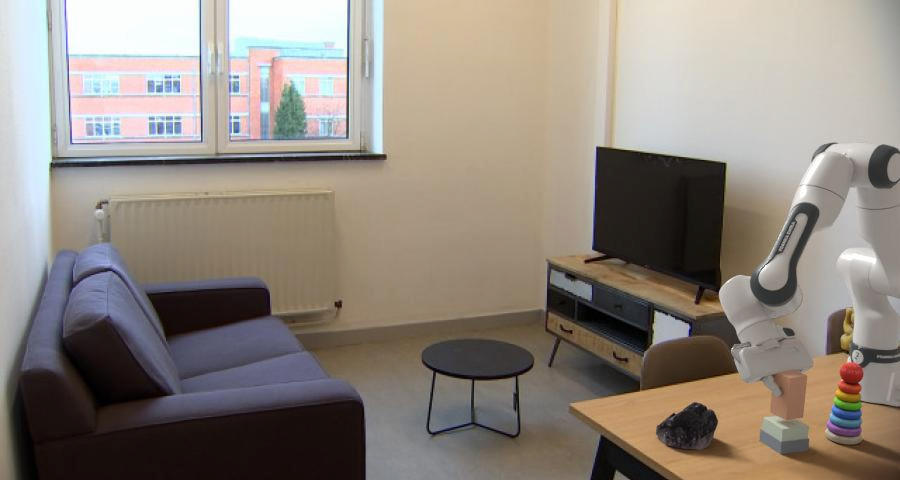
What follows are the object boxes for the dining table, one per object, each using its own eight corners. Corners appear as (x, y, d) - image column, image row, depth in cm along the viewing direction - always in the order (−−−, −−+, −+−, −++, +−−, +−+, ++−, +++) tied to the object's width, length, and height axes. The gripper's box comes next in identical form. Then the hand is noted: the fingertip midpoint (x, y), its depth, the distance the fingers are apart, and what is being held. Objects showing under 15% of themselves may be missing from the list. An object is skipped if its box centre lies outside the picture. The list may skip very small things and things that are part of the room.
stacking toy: (859, 449, 200) (868, 371, 196) (821, 441, 204) (829, 364, 200) (863, 437, 206) (872, 361, 203) (827, 429, 210) (835, 355, 207)
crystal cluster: (643, 437, 206) (645, 399, 203) (684, 422, 213) (687, 385, 210) (685, 463, 195) (688, 423, 192) (727, 446, 202) (731, 407, 199)
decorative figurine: (874, 352, 271) (879, 305, 268) (873, 360, 263) (878, 311, 261) (840, 347, 275) (845, 301, 272) (838, 354, 268) (843, 307, 265)
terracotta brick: (787, 409, 203) (791, 368, 201) (803, 417, 198) (807, 375, 196) (770, 412, 201) (773, 370, 199) (785, 420, 196) (789, 378, 194)
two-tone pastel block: (786, 438, 206) (788, 413, 204) (808, 451, 199) (810, 426, 197) (759, 441, 203) (761, 417, 202) (780, 454, 196) (782, 429, 195)
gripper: (736, 339, 198) (766, 394, 191) (800, 328, 207) (830, 380, 200) (720, 352, 202) (748, 406, 196) (783, 341, 212) (813, 392, 205)
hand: (790, 393), depth 198 cm, fingers closed on terracotta brick, 5 cm apart
